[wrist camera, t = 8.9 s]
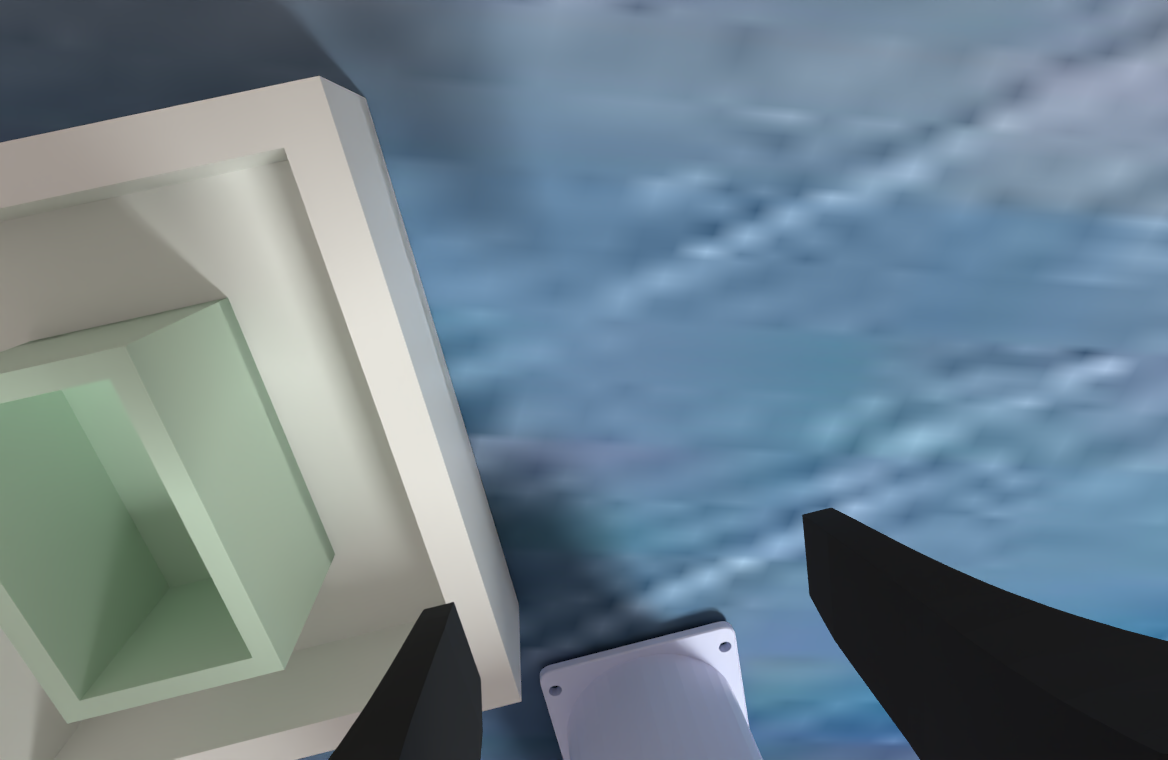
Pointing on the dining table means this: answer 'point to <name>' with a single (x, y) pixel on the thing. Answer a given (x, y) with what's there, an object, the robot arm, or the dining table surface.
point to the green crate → (150, 513)
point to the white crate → (269, 391)
